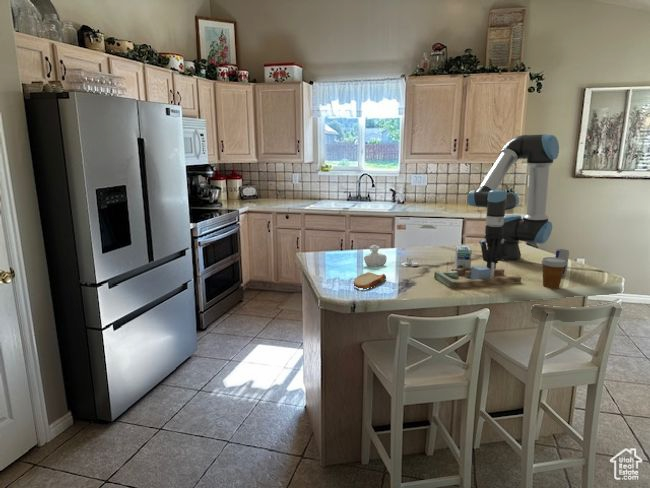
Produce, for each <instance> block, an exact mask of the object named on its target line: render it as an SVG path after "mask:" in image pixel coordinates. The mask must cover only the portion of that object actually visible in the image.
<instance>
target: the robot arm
mask: <svg viewBox="0 0 650 488" xmlns="http://www.w3.org/2000/svg"><path fill="white" fill-rule="evenodd" d="M559 153H560V145H559V140H558V138H557V137H556V135H553V134H521V135H518V136H515V137H514V138H512V139H511V140H509V141H508V142H507V143H505V144H504V145H503V146H502V148H501V149H500V150H499V152H498V158H497V159H496V161H494V164H493V165H492V166H491V168H490V170H489V171H488V172H487V174H486V176H485V177H484V178H483V180H482V182H481V183H480V185H479V187H477V189H474V190H470V191H469V192H468V194H467V196H466V202H467V204H468V205H469V206H471V207H476V208H486V216H485V217H486V218H485V224H486V225H485V229H484V233H485V236H484V238H483V240H479V242H478V243H479V245H480V248H481V254H482V255H481V256H482V261H484V262H486V267H487V268H490V269H491V277H490V278H495V276H494V269H497V264H498V263H499V262H500V261H507V262H510V261H512V262H513V261H519V260H522V259H521V258H522V254H521V249H520V246H519V245H520V243H519V241H520V242H526V243H533V244H541V245H542V244H545V243H547V241H548V240H549V239H550V236H551V234H552V231H553V223H552V221H549V216H548V215H547V214H546V210H547V208H546V207H547V197H548V188H549V187H548V185H549V173H550V167H551V165H552V164H553V163H554V160H556V159H558V157H559ZM523 159H524V160H526V164H527V165H528V166H529V177H528V190H527V191H528V192H527V205H526V214H524V215H523V216H522V215H520V214H508V215H507V214H506V211H510V210H513V209H514V208H516V207H518V205H519V202H520V198H519V196H518V195H517V194H516V193H515V192H507V191H506V190H503V189H498V188H499V186H500V185H501V183H502V181H503V180H504V178H505V177H506V175H507V174H508V172H509V170H510V169H511V168H512V166H513V165H514V164H515V163H517V162H518V160H523Z"/></svg>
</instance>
